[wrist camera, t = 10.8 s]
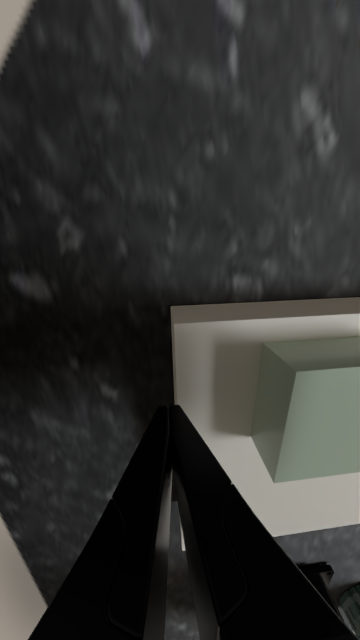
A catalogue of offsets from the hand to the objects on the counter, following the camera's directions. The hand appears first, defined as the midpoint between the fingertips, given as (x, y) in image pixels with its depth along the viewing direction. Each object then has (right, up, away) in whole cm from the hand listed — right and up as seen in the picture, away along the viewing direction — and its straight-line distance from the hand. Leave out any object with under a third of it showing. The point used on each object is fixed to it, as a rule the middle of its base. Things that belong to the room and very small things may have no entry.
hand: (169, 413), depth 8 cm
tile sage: (+6, +1, +1) cm, 6 cm away
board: (+6, -2, +5) cm, 8 cm away
